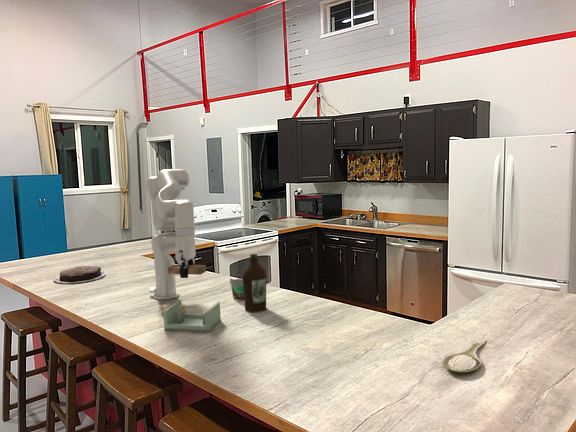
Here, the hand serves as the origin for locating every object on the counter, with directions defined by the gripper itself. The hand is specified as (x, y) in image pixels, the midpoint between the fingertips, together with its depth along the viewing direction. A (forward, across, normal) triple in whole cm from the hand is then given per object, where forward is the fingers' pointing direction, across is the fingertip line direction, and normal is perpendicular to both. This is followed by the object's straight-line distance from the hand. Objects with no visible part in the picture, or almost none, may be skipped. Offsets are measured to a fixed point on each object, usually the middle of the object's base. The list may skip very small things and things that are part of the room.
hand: (187, 275), depth 191 cm
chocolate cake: (+19, -66, -98) cm, 119 cm away
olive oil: (+21, -22, +22) cm, 37 cm away
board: (-1, 0, 0) cm, 1 cm away
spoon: (+22, +17, +106) cm, 109 cm away
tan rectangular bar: (+20, -10, -12) cm, 26 cm away
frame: (+20, +1, +2) cm, 21 cm away
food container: (+20, -37, +12) cm, 43 cm away
